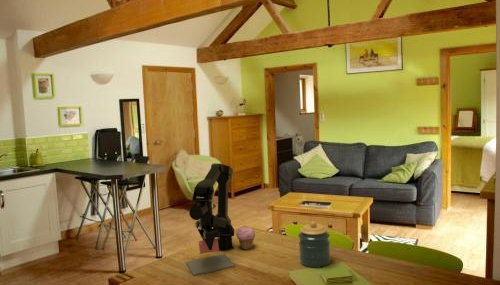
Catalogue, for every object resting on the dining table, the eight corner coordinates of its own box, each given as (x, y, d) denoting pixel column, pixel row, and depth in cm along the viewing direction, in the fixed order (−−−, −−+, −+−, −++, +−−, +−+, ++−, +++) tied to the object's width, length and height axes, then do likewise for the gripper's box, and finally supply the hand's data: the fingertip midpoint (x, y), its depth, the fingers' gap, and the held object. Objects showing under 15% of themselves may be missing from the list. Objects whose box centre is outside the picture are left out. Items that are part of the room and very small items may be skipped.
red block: (199, 249, 178) (198, 240, 178) (217, 247, 180) (216, 238, 179) (200, 253, 173) (199, 244, 173) (218, 251, 175) (218, 242, 174)
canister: (330, 268, 166) (328, 226, 164) (298, 267, 169) (296, 226, 167) (330, 255, 179) (329, 216, 177) (301, 255, 181) (299, 216, 179)
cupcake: (234, 246, 197) (233, 226, 196) (250, 242, 200) (249, 223, 199) (242, 252, 189) (240, 231, 188) (258, 248, 192) (257, 228, 191)
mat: (225, 255, 187) (225, 253, 187) (234, 266, 174) (234, 265, 174) (186, 263, 181) (186, 261, 180) (193, 275, 168) (193, 274, 167)
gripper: (230, 215, 169) (233, 251, 170) (217, 204, 186) (220, 237, 188) (204, 219, 165) (207, 256, 167) (193, 208, 182) (196, 242, 184)
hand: (208, 247), depth 176 cm, fingers closed on red block, 5 cm apart
